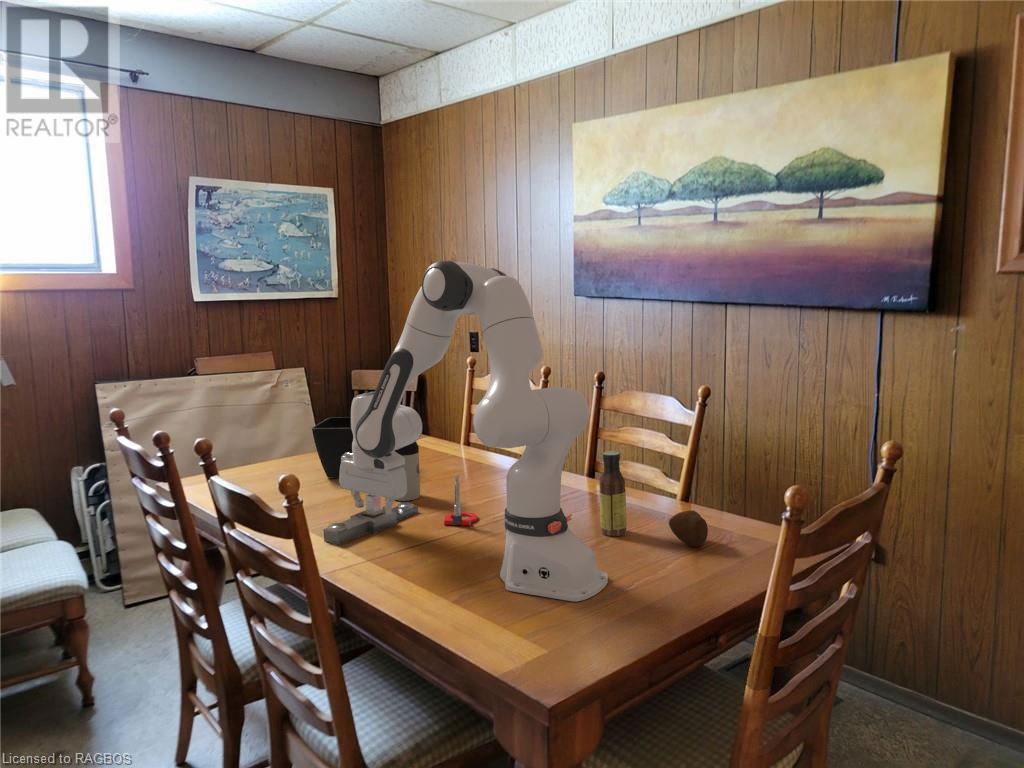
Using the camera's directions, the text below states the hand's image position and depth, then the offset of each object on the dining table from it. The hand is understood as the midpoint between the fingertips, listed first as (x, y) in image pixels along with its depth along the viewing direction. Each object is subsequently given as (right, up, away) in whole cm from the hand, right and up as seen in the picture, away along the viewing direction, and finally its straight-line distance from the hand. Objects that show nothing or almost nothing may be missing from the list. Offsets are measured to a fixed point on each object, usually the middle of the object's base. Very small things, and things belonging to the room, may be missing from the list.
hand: (373, 510), depth 181 cm
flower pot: (-16, +3, +50) cm, 52 cm away
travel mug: (+5, -1, +24) cm, 24 cm away
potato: (+76, -6, -14) cm, 77 cm away
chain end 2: (+3, -3, +5) cm, 6 cm away
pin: (0, -4, +1) cm, 4 cm away
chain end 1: (-3, -5, -3) cm, 6 cm away
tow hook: (+22, -4, +4) cm, 22 cm away
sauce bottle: (+59, -5, -6) cm, 60 cm away
